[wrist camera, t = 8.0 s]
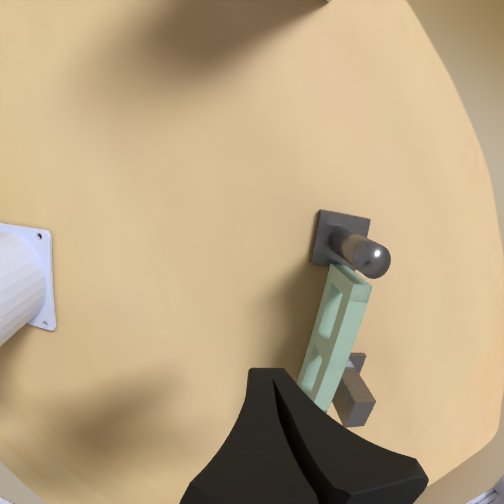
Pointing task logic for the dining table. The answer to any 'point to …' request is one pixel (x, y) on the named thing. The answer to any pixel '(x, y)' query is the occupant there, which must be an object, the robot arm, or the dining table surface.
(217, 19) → the dining table surface
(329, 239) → the hinge post
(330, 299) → the gate
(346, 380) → the post
